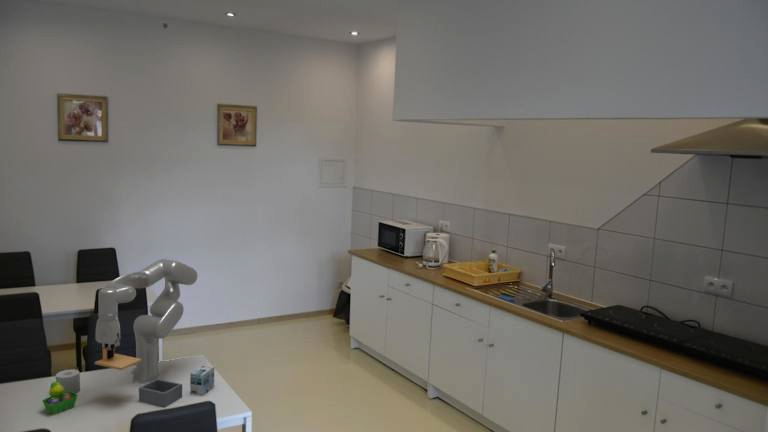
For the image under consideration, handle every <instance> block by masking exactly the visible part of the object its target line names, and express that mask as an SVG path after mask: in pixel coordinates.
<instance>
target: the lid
mask: <svg viewBox="0 0 768 432" xmlns="http://www.w3.org/2000/svg"><path fill="white" fill-rule="evenodd" d="M107 350H108V347H106V348H104V349H103V348H102V359H99V360H96V361H95V362H94V365H97V366H102V367H105V368H110V369H114V370H119V371H123V370H126V369H128V368H129V367H132V366H134V365H136V364H137V363H139V362H141V361H142V359H139V358H136V357H133V356H129V355H125V354H120V353H114V357H112V358H110V359H107Z"/></svg>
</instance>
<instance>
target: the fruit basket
mask: <svg viewBox="0 0 768 432" xmlns="http://www.w3.org/2000/svg"><path fill="white" fill-rule="evenodd" d="M63 391H64V387H63V386H62V385H60V383H58V382H56V381H53V382H52V383H50V388H49V395H50V396H49V397H47V398H44V399H42V403H43V404H44V405H43V406H44V408H45V411H46V412H48V413H49V414H52V415H56V414H58V413H61V412H63V411H66V410H69V409H72V408H74V407H75V405H76V401H77V398H78V393H77V394H74V393H72V392H70V391H66V392H63Z"/></svg>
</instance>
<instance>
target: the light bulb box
mask: <svg viewBox="0 0 768 432" xmlns="http://www.w3.org/2000/svg"><path fill="white" fill-rule="evenodd" d="M189 377H190V383H189V385H190V387H189V389H190V392H189V393H190V395H195V396H201V397H203V396H205V395H206V394H208V393H209V392H210V391H211V390H213V389H214V388H215V366H211V365H203V364H202V365H200V366H199V367H197V368H196V369H195V370H193V371H192V372H191V373H190V375H189Z"/></svg>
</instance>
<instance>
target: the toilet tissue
mask: <svg viewBox="0 0 768 432" xmlns="http://www.w3.org/2000/svg"><path fill="white" fill-rule="evenodd" d="M80 374H81V372H80V371H79V370H78V369H74V368H73V369H64V370H62V371H59V372H57V373H56V374H55V382H58V383H60V385H62V386H63V387H64V391H63V392H66V391H70V392H72V393H74V394H77V395H78V393H79V392H81V378H80V377H81V375H80Z"/></svg>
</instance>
